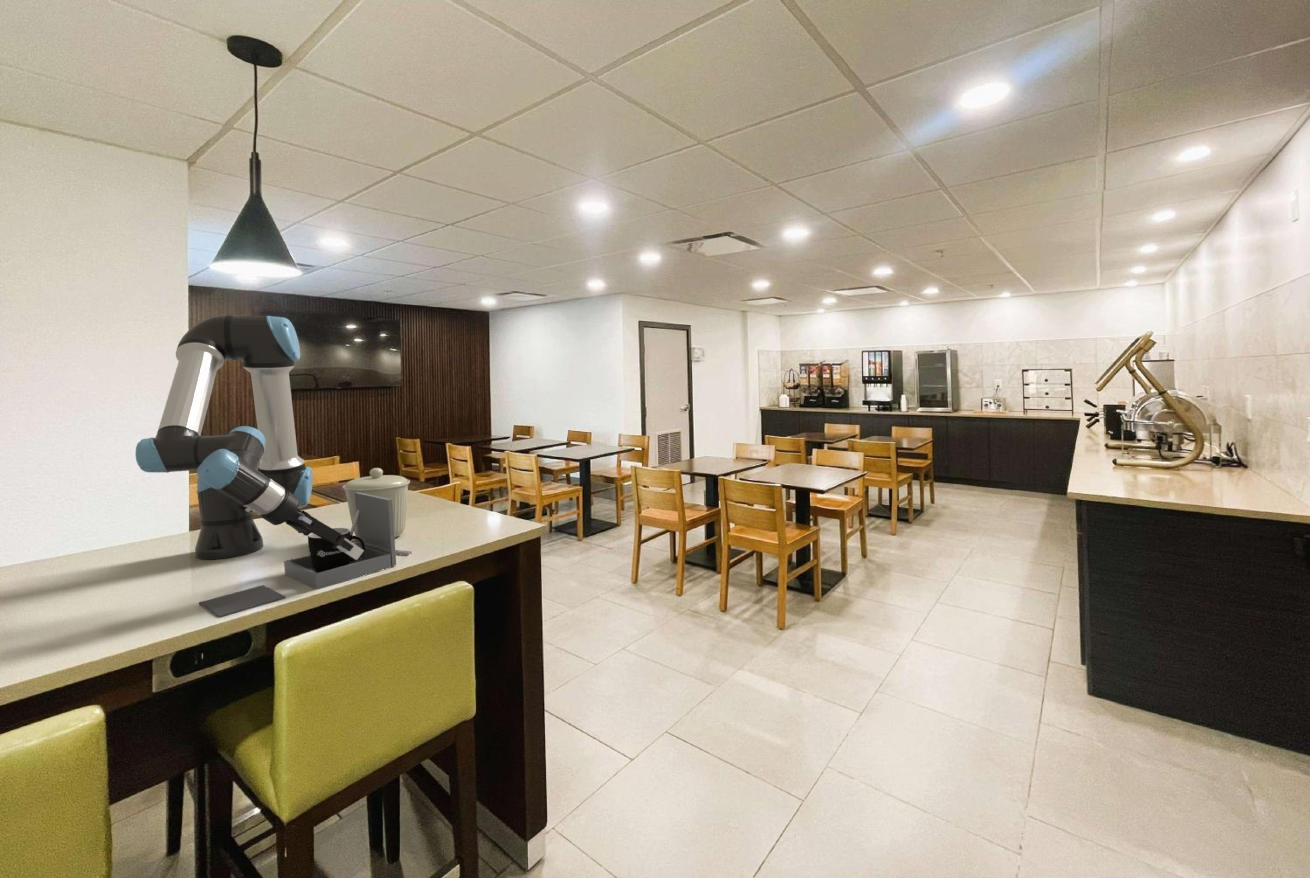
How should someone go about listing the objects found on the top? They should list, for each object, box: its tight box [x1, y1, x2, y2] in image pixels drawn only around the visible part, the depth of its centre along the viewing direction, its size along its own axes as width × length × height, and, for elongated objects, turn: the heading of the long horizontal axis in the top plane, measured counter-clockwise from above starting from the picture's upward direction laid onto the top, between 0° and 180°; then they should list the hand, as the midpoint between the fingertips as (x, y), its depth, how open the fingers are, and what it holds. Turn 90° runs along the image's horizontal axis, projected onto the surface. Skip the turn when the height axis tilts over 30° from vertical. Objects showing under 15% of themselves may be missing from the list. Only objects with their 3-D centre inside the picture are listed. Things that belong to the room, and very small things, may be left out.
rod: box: [395, 549, 412, 556], centre depth 153 cm, size 12×1×1 cm, turn 78°
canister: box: [342, 467, 411, 538], centre depth 168 cm, size 18×18×21 cm
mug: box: [307, 527, 365, 573], centre depth 138 cm, size 12×9×10 cm
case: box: [283, 492, 397, 590], centre depth 139 cm, size 17×19×17 cm
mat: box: [198, 584, 287, 618], centre depth 121 cm, size 12×12×1 cm
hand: (346, 550), depth 140 cm, fingers open, 13 cm apart
